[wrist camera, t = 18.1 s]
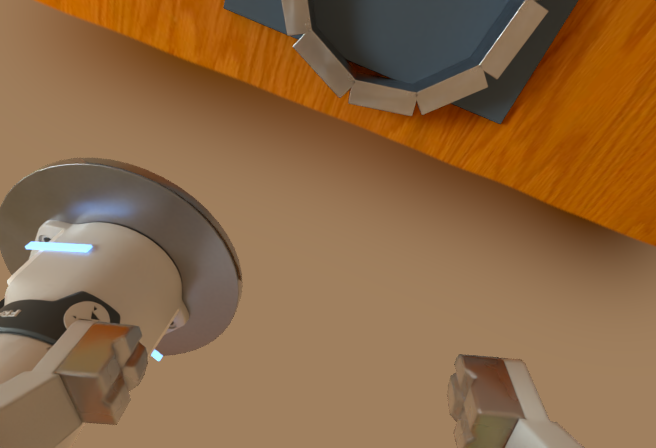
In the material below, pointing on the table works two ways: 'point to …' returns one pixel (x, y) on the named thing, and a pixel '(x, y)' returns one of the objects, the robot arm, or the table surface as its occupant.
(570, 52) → the table surface
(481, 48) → the ring
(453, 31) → the mat
